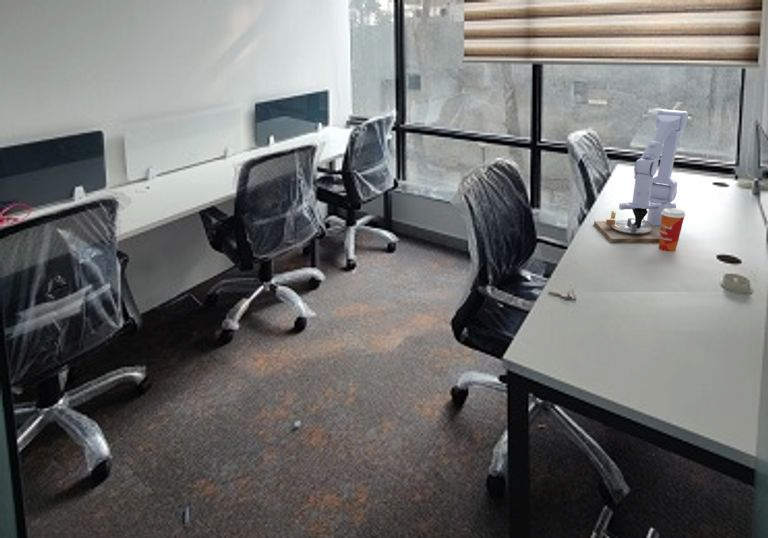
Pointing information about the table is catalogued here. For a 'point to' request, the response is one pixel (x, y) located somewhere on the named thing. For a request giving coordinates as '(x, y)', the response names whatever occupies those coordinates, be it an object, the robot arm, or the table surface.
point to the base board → (628, 238)
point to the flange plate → (628, 226)
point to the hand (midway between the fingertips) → (637, 227)
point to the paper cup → (670, 228)
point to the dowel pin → (613, 214)
